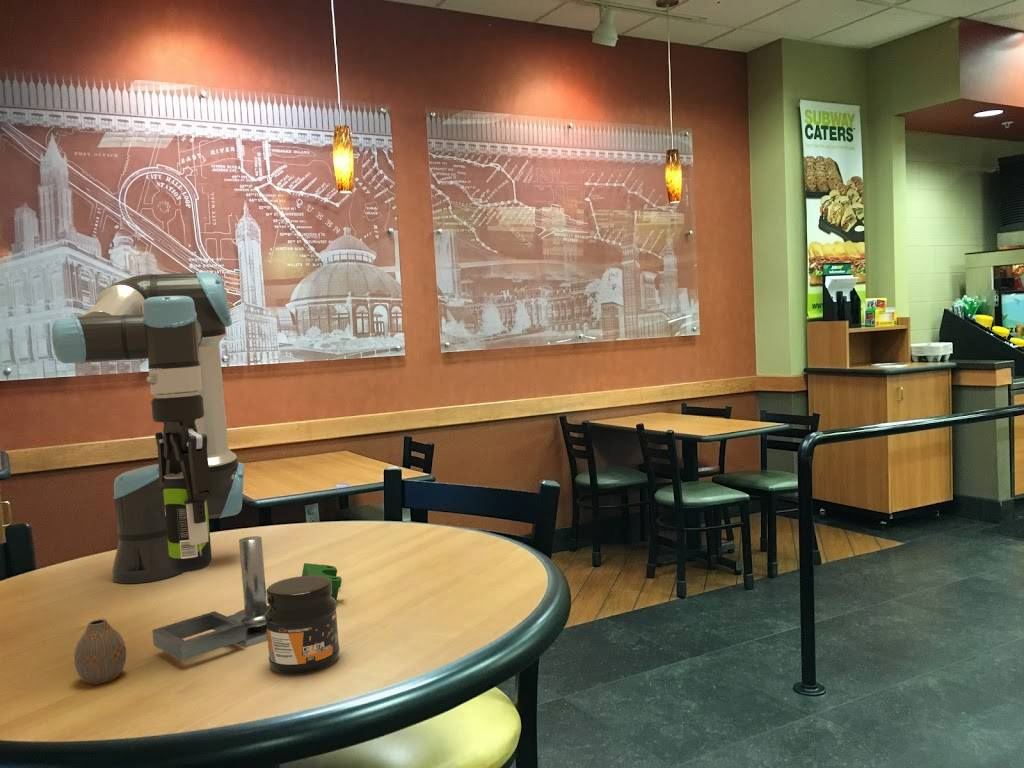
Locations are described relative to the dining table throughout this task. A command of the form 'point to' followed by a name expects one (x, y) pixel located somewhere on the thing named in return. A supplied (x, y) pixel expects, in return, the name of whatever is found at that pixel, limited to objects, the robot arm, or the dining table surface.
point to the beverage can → (182, 528)
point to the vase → (99, 653)
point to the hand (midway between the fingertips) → (189, 539)
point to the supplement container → (301, 625)
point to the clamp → (324, 575)
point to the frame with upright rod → (228, 629)
